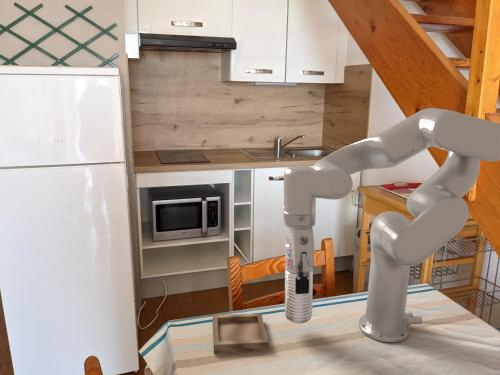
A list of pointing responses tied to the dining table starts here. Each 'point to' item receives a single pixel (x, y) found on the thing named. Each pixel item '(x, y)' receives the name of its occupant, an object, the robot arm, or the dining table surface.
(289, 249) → the water bottle
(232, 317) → the tray
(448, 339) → the dining table surface
